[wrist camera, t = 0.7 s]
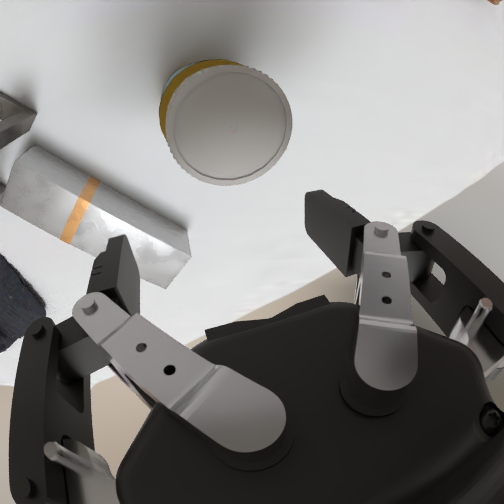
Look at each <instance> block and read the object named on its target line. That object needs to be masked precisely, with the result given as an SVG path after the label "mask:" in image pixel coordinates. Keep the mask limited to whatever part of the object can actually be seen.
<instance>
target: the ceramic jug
mask: <svg viewBox="0 0 504 504" xmlns="http://www.w3.org/2000/svg"><path fill="white" fill-rule="evenodd" d="M488 1H489V2H491V3H493V4H495V5H498V4H499V1H502V0H488Z"/></svg>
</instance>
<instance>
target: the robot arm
mask: <svg viewBox="0 0 504 504" xmlns="http://www.w3.org/2000/svg"><path fill="white" fill-rule="evenodd" d="M305 228H306V231H307V234H308V235H309V237H310V238H311V239H312V240H313V241H314V242H315V243H316V244H317V245H318V247H319V248H320V249H321V250H322V251H323V252H324V253H325V254H326V255H327V257H328V258H329V259H330V260H331V261H332V262H333V263H334V264H335V266H336V267H337V268H338V269H339V270H340V271H341V272H342V273H343V275H344V276H345V277H348V276H351V275H353V274H357V281H356V289H355V297H354V304H353V303H347V302H329V301H328V299H327V298H326V297H325V295H322V296H318V297H315V298H313V299H310V300H306V301H303V302H300V303H297V304H295V305H294V306H292V307H290V308H288V309H286V310H285V311H283V312H281V313H279V314H277V315H276V316H274V317H272V318H269V319H261V320H251V321H250V320H249V321H237V322H232V323H229V324H225V325H221V326H218V327H214V328H210V329H206V330H205V333H206V337H207V339H206V340H204V341H203V342H201V343H199V344H198V345H196V346H195V347H193V348H192V349H191V350H190V349H188V348H187V347H185V346H184V345H182V344H181V343H179V342H178V341H176V340H175V339H174V338H172V337H171V336H169V335H168V334H166V333H165V332H163V331H162V330H161V329H159V328H158V327H156V326H155V325H154V324H152V323H151V322H149V321H148V320H147V319H145V318H144V317H143V316H141V315H140V274H139V269H138V266H137V263H136V260H135V257H134V255H133V252H132V249H131V246H130V244H129V241H128V238H127V236H126V235H125V234H123V235H119V236H116V237H112V238H109V239H108V243H107V247H106V251H104V252H100V254H99V255H98V256H97V258H96V259H95V260H94V264H93V267H92V269H93V270H92V272H91V276H90V280H89V284H88V289H87V293H86V295H85V296H83V297H82V298H80V299H79V300H78V301H77V302H76V304H75V305H74V307H73V310H72V315H73V316H72V317H70V318H69V319H67V320H65V321H63V322H61V323H59V324H57V325H55V323H54V322H53V321H52V319H51V318H49V317H42V318H39V319H37V320H36V321H34V322H33V323H32V324H31V325H30V326H29V327H28V328H27V330H26V332H25V335H24V339H23V343H22V347H21V352H20V357H19V362H18V367H17V372H16V378H15V385H14V392H13V399H12V408H11V419H10V433H9V482H10V491H11V494H12V497H13V499H14V501H15V502H16V504H504V412H502V411H501V410H500V409H499V408H498V407H497V406H496V404H495V403H494V401H493V399H492V397H491V395H490V392H489V390H488V387H487V384H486V381H491V380H493V379H495V378H496V376H497V375H498V374H499V373H500V372H501V370H502V369H503V368H504V283H503V282H502V281H501V280H500V279H499V278H498V277H497V276H496V275H495V274H494V273H493V272H492V271H490V269H488V268H487V267H486V266H485V265H484V264H483V263H482V262H481V261H480V260H478V259H477V258H476V257H475V256H474V255H473V254H471V253H470V252H469V251H468V250H467V249H466V248H465V247H463V246H462V245H461V244H460V243H458V242H457V241H456V240H455V239H454V238H452V237H451V236H450V235H449V234H447V233H446V232H445V231H443V230H442V229H441V228H440V227H439V226H437V225H436V224H434V223H431V222H428V221H416V222H414V223H413V226H412V231H411V232H405V233H398V231H397V229H396V228H395V227H394V226H392V225H390V224H388V223H385V222H378V221H376V222H370V221H369V220H368V219H366V218H365V217H364V216H362V215H361V214H360V213H358V212H356V210H355V209H353V208H352V207H350V206H349V205H348V204H347V203H345V202H344V201H341V200H339V199H336V198H333V197H332V196H330V195H329V194H328V193H326V192H325V191H324V190H317V191H311V192H307V193H306V194H305ZM434 262H436V263H437V264H438V265H439V266H440V267H441V268H442V269H443V270H444V272H445V274H446V281H445V284H444V285H443V284H442V283H441V282H440V281H439V280H438V279H437V278H436V277H435V276H434V275H433V274H432V273H431V271H432V268H433V265H434ZM411 294H412V295H413V297H414V298H415V299H416V300H417V301H418V302H419V303H420V305H421V306H422V307H423V308H424V309H425V311H426V312H427V313H428V314H429V315H430V316H431V318H432V319H433V320H434V321H435V322H436V324H437V325H438V326H439V327H440V328H441V330H442V331H443V332H444V334H445V335H446V336H447V337H445V336H442V335H440V334H437V333H434V332H431V331H429V330H426V329H423V328H420V327H418V326H415V325H414V324H413V321H412V305H411ZM105 366H108V367H109V368H110V369H111V370H112V371H113V372H114V373H115V374H116V375H117V376H118V377H119V378H120V379H121V380H122V381H123V382H124V383H125V384H126V385H127V386H128V387H129V388H130V389H131V390H132V391H133V392H134V393H135V394H136V395H137V396H138V397H139V398H140V399H141V400H142V401H143V402H144V403H145V404H146V405H147V406H148V407H149V408H150V409H151V412H150V413H149V415H148V417H147V419H146V420H145V422H144V424H143V425H142V427H141V429H140V431H139V432H138V434H137V436H136V438H135V439H134V441H133V443H132V444H131V446H130V448H129V450H128V452H127V453H126V455H125V457H124V458H123V460H122V462H121V464H120V466H119V468H118V471H117V475H116V479H115V478H114V477H113V475H112V473H111V471H110V468H109V465H108V463H107V461H106V460H105V459H104V458H103V457H102V456H101V455H99V454H98V453H96V452H95V449H94V439H93V428H92V414H91V395H90V394H91V393H90V374H91V373H93V372H95V371H97V370H99V369H101V368H103V367H105Z"/></svg>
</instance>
